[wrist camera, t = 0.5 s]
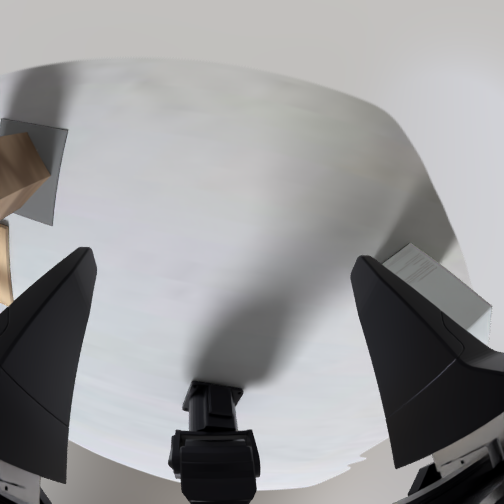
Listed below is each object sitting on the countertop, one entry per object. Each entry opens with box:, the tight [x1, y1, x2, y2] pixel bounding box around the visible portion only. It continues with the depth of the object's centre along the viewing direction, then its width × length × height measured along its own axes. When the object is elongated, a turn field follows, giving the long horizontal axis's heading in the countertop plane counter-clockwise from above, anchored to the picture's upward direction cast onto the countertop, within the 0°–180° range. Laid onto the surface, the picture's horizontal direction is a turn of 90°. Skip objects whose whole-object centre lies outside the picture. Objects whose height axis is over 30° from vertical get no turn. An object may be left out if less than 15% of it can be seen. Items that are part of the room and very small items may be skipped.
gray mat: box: [0, 119, 68, 226], centre depth 18 cm, size 9×9×1 cm
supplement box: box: [382, 243, 492, 346], centre depth 23 cm, size 7×7×13 cm
